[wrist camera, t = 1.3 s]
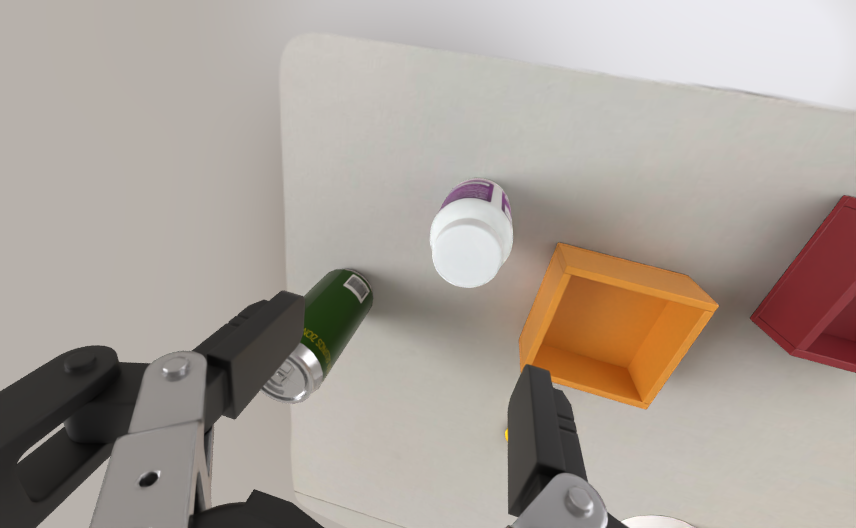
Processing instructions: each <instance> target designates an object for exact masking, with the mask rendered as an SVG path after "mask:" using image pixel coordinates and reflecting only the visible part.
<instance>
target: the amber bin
mask: <svg viewBox="0 0 856 528" xmlns="http://www.w3.org/2000/svg"><path fill="white" fill-rule="evenodd" d="M718 307H719V305H718V304H717V303H716V302H715V301H714V300H713V299H712V298H711V297H710V296H709V295H708V294H707V293H706V292H705V291H703V290H702V289H701V288H700V287H699V286H698V285H697V284H696V283H695V282H694V281H693V280H692V279H691V278H690V277H689V276H688V275H684V274H680V273H676V272H672V271H668V270H664V269H660V268H657V267H653V266H649V265H645V264H641V263H637V262H633V261H629V260H625V259H621V258H618V257H614V256H610V255H606V254H602V253H598V252H594V251H590V250H586V249H583V248H579V247H575V246H571V245H567V244H563V243H559V242H558V244H557V246H556V249H555V251H554V254H553V256H552V259H551V261H550V264H549V266H548V269H547V271H546V274H545V276H544V278H543V281H542V283H541V286H540V288H539V291H538V293H537V296H536V298H535V301H534V303H533V306H532V308H531V311H530V313H529V316H528V318H527V321H526V323H525V326H524V328H523V331H522V333H521V335H520V338H519V351H520V369H521V373H522V370H523V368H524V366H525V365H526V364H529V365H532V366H536V367H539V368H543V369H546V370H549V371H550V374H551V380H552V382H554V383H558V384H561V385H564V386H568V387H571V388H574V389H578V390H581V391H585V392H588V393H591V394H595V395H598V396H602V397H605V398H608V399H612V400H615V401H619V402H622V403H625V404H629V405H632V406H636V407H639V408H642V409H647V408H648V407H649V405H650V404H651V402H652V401H653V400H654V398H655V397H656V395H657V394H658V392H659V391H660V390H661V388H662V387H663V385H664V384H665V382H666V381H667V380H668V378H669V377H670V375H671V374H672V372H673V371H674V370H675V368H676V367H677V365H678V364H679V362H680V361H681V360H682V358H683V357H684V355H685V354H686V352H687V351H688V350H689V348H690V347H691V345H692V344H693V342H694V341H695V340H696V338H697V337H698V335H699V334H700V332H701V331H702V330H703V328H704V327H705V325H706V324H707V322H708V321H709V320H710V318H711V317H712V315H713V314H714V312H715V311H716V309H717V308H718Z"/></svg>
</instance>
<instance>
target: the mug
mask: <svg viewBox="0 0 856 528" xmlns="http://www.w3.org/2000/svg"><path fill="white" fill-rule="evenodd" d="M621 523H623V524H625V525H626V526H628V527H629V528H695V527H693V526H691V525H689V524H688V523H686V522H684V521H681V520H677V519H674V518H671V517H665V516H657V515H646V516H636V517H632V518H628V519H624V520H622V521H621Z"/></svg>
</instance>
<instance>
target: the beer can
mask: <svg viewBox="0 0 856 528" xmlns="http://www.w3.org/2000/svg"><path fill="white" fill-rule="evenodd" d="M304 298H305V313H304V331H303V335H302V338H301V341H300V343H299V344H298V346H297V347H296V349H295V350H294V351H293V352H292V353H291V354H290V356H289V357H288V358H287V359H286V360H285V362H284V363H283V364H282V365H281V366H280V367H279V369H278V370H277V371H276V372H275V373H274V374H273V376H272V377H271V378H270V379H269V380H268V381H267V383H266V384H265V385H264V386H263V387H262V388H261V390H260V391H261V392H262V393H263V394H265V395H266V396H268V397H270V398H272V399H274V400H276V401H279V402H283V403H291V404H295V403H299V402H303V401H304V400H306V399H307V398H308V397H309V396H310V394H311V393H313V392H314V391H316V390H317V389H318V388H319V387H320V385H321V384H322V382H323V381H324V379H325V378H326V376H327V374H328V373H329V371H330V370H331V368H332V367H333V365H334V364H335V362H336V361H337V359H338V358H339V356H340V354H341V353H342V351H343V350H344V348H345V347H346V345H347V344H348V342H349V341H350V339H351V338H352V336H353V334H354V333H355V331H356V330H357V328H358V327H359V325H360V324H361V322H362V321H363V319H364V318H365V316H366V314H367V313H368V311H369V310H370V308H371V306H372V302H373V293H372V288H371V286H370V284H369V282H368V280H367V279H366V278H365V277H364V276H363V275H362V274H360V273H358V272H356V271H354V270H350V269H336V270H334V271H331V272H329V273H328V274H327V275H326V276H324V277H323V278H322V279H321V280H320V281H319V282H318V283H317V284H316V285H315V286H314V287H313V288H312V289H311V290H310V291H309V292H308V293H307V294H306V295H305V296H304Z"/></svg>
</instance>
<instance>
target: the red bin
mask: <svg viewBox="0 0 856 528" xmlns="http://www.w3.org/2000/svg"><path fill="white" fill-rule="evenodd" d="M750 319H751V320H752V321H753V322H754V323H755V324H756V325H757V326H758V327H760V328H761V329H762V330H763V331H764V332H765V333H766V334H767V335H768V336H770V337H771V338H772V339H773V340H774V341H775V342H776V343H777V344H779V345H780V346H781V347H782V348H783V349H784V350H785V351H786V352H788V353H789V354H790V355H792V356H796V357H799V358H803V359H807V360H810V361H814V362H818V363H821V364H825V365H829V366H833V367H836V368H840V369H844V370H847V371H851V372H855V373H856V198H855V197H850V196H846V195H844V196H843V197H842V198H841V200H840V201H839V202H838V203H837V205H836V206H835V207H834V209H833V210H832V211H831V213H830V214H829V215H828V217H827V218H826V219H825V220H824V222H823V223H822V224H821V226H820V227H819V228H818V230H817V231H816V232H815V234H814V235H813V236H812V237H811V239H810V240H809V241H808V243H807V244H806V245H805V247H804V248H803V249H802V251H801V252H800V253H799V254H798V256H797V257H796V258H795V260H794V261H793V262H792V264H791V265H790V266H789V268H788V269H787V270H786V271H785V273H784V274H783V275H782V277H781V278H780V279H779V281H778V282H777V283H776V285H775V286H774V287H773V288H772V290H771V291H770V292H769V294H768V295H767V296H766V298H765V299H764V300H763V302H762V303H761V304H760V305H759V307H758V308H757V309H756V311H755V312H754V313H753V315H752V316H751V317H750Z"/></svg>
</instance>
